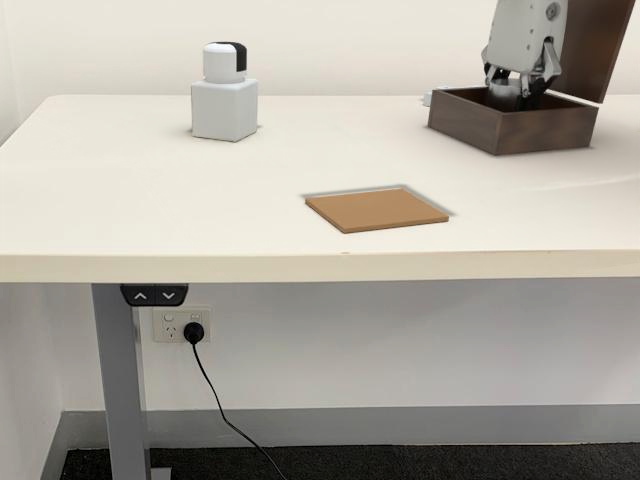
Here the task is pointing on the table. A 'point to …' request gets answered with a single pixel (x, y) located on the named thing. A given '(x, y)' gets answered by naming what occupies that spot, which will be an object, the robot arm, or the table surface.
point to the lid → (591, 47)
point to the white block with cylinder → (224, 94)
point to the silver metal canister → (504, 94)
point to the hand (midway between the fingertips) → (507, 120)
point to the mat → (375, 210)
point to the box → (511, 122)
